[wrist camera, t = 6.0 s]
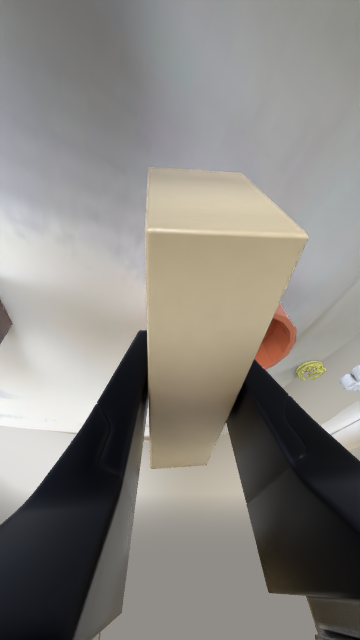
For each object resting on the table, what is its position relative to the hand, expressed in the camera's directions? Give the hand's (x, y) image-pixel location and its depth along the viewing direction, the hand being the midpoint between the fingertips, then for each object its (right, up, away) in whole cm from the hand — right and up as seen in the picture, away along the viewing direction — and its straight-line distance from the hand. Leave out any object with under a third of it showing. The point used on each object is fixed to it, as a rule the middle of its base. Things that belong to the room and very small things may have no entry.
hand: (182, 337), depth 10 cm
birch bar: (0, +1, +1) cm, 1 cm away
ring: (+17, -5, +23) cm, 29 cm away
